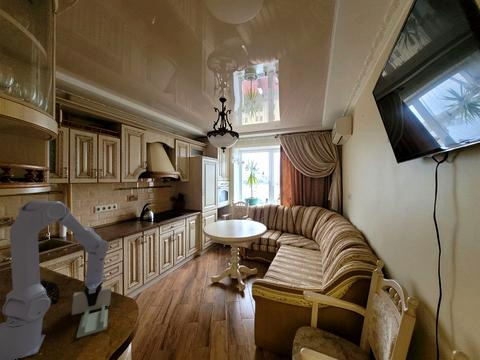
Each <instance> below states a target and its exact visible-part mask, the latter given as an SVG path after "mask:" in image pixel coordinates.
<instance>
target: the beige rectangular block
mask: <svg viewBox="0 0 480 360" xmlns="http://www.w3.org/2000/svg"><path fill="white" fill-rule="evenodd" d="M72 296H73V299H72V307H71V308H72V310H71V316H73V315H77V314H82V313H85V311H86V309H89V312H90V311H94V310H99V309H102V305H105V306H107V307H110V306H111V305H110V304H111V296H112V286H111V285H110V286H109V285H108V286H104V287H102V289H101V291H100V292H99V294H98V297H97V301H96V304H95V305H94V306H90V307H89V306H88V301H87V297H86V295H85V293H84V290H83V291H79V292H74V293H73V295H72ZM109 305H110V306H109Z"/></svg>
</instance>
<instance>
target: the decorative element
mask: <svg viewBox="0 0 480 360" xmlns="http://www.w3.org/2000/svg"><path fill="white" fill-rule="evenodd" d="M40 283H41V285H42V286H43V287H44V288H45V290H46V293H47V296H48V297H49V298H50V300H51V304H50V306H51V305H53V304H56V303H58V302H59V300H60V299H61V295H60V288H59V287H58V284H57V282H54V281H48V280H46V279H45V278H42V279H41V280H40Z"/></svg>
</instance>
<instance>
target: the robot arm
mask: <svg viewBox="0 0 480 360" xmlns="http://www.w3.org/2000/svg"><path fill="white" fill-rule="evenodd" d="M56 222H59V224H61V225H62V226H63V227H65V228H66V229H68V230H69V231H70V232H72V233H73V234H74V237H73V238H74V240H75V241H76V242H77V243H78V244H80V245H81V246H82V247H83V248H84V249H83V250H84V252H85V253H87V261H86V271H85V273H86V274H85V280H84V286H85V288H84V290H83V291H84V293H85V295H86V297H87V301H88V306H89V307H90V306H94V305H95V304H96V301H97V297H98V294H99V292H100V291H101V289H102V288H103V286H102V285H103V284H104V283H103V282H106V281H107V277H104V271H105V260H106V257H107V253H108V251H109V249H110V244H109V242H108V241H107V240H106V239H103V238H102V236H101V235H100V234H99V235H98V234H97V233H96V232H95V229H94V227H90V226H86V227H85V226H84V225H83V224H82V223H81V222H80V221H79V219H78V218H77V217H76V216H75V215H74V214H73V213H72V212H71V209H70V207H68V206H66V204H65V203H63V202H62V201H59V200H53V201H52V200H40V199H32V200H30V201H28V202H26V203H25V204H23V205H22V206H20V207H19V208H18V215H17V216H16V218H15V220H14V222H13V224H12V225H11V227H10V229H9V244H10V262H11V279H12V282H11V283H12V290H11V291H9V292H8V293H7V294H6V299H5V302H4V304H3V307H2V314H3V315H4V316H5V317H7V320H6V321H5V322H2V323H0V360H15V359H16V360H19V359H18V358H20V359H23V358H27V357H28V356H33V355H36V354H38V352H39V350H40V349H41V345H42V344H43V342H44V340H45V337H46V334H42V328H43V319H44V317H45V315H46V313H47V312H48V311H49V309H50V307H51V301H52V300H50V298H51V297H50V298H49V297H48V296H49V295H48V294H47V293H46V290H45V288H44V287H43V286H42V285H41V283H40V281H41V272H40V252H39V234H40V232H41V231H43V230H44V229H45V228H47V227H48V226H50V225H52V224H54V223H56Z"/></svg>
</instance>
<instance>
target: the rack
mask: <svg viewBox="0 0 480 360" xmlns="http://www.w3.org/2000/svg"><path fill="white" fill-rule="evenodd" d="M108 317H109V309H108V308H107V309H106V307H105V305H102V308H101V310H100V311H96V312H92V313H90V311H89V309H86V311H85V312H84V314H82V315H81V318H80V321H79V325H78V329H77V333H76V339H78V338H82V337H85V336H89V335H92V334H96V333H100V332H102V331H103V332H104V331H106V330H108V329H107V328H108Z"/></svg>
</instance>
